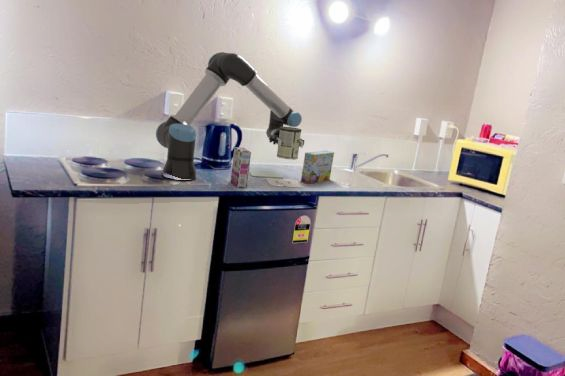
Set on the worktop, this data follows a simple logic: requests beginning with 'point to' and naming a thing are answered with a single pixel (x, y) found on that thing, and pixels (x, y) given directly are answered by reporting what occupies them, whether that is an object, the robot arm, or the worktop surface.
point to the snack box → (317, 166)
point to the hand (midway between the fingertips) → (291, 143)
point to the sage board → (264, 173)
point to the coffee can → (289, 143)
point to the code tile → (284, 182)
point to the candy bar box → (240, 167)
